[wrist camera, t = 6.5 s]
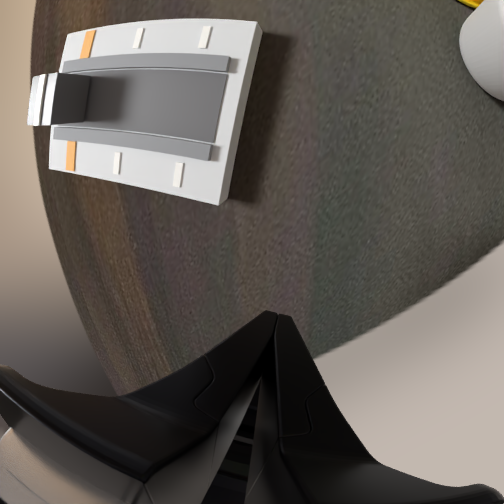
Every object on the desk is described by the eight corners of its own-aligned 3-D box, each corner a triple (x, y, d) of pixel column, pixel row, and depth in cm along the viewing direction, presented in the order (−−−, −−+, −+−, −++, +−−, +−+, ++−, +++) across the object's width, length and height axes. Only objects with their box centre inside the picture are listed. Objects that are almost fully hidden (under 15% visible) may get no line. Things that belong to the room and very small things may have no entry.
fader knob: (83, 122, 18) (48, 125, 14) (59, 121, 18) (25, 125, 15) (90, 76, 16) (55, 72, 13) (65, 78, 16) (31, 76, 13)
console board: (227, 198, 20) (215, 207, 18) (64, 164, 22) (44, 169, 20) (262, 31, 15) (255, 19, 13) (82, 37, 17) (63, 33, 15)
